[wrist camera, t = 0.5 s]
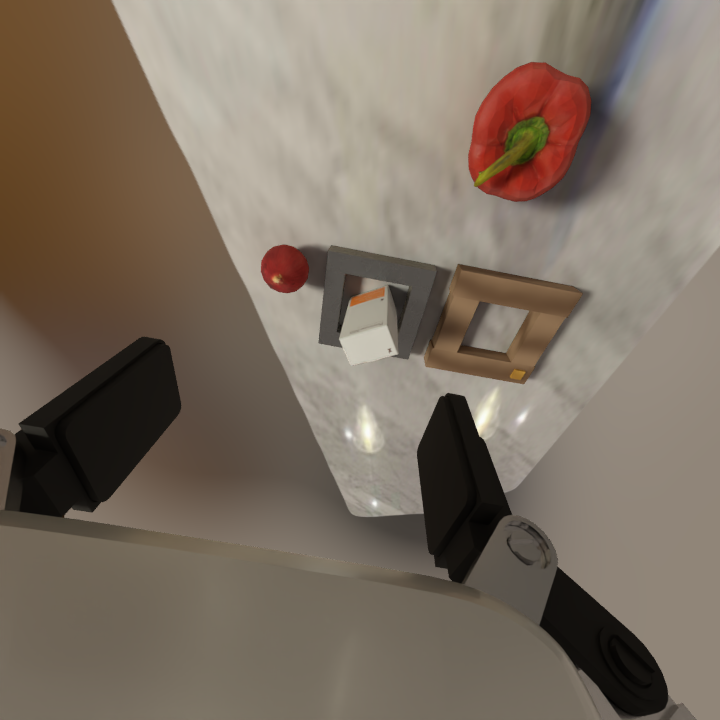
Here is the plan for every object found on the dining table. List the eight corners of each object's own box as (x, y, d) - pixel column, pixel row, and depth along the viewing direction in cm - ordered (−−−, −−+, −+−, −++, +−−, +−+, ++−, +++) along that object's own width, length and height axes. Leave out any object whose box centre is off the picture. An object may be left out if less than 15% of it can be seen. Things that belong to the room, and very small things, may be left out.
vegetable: (471, 216, 36) (496, 236, 28) (433, 127, 32) (450, 121, 24) (569, 156, 32) (631, 159, 24) (542, 43, 28) (607, 0, 19)
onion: (290, 288, 43) (274, 313, 37) (262, 254, 41) (239, 274, 34) (322, 266, 41) (310, 289, 35) (294, 229, 38) (276, 245, 32)
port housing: (458, 263, 40) (462, 271, 37) (572, 286, 40) (584, 295, 38) (424, 357, 49) (426, 368, 46) (518, 374, 49) (524, 385, 47)
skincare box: (388, 283, 42) (389, 324, 32) (397, 309, 44) (400, 355, 34) (348, 296, 43) (337, 339, 34) (358, 321, 46) (351, 368, 36)
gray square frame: (331, 245, 39) (328, 250, 37) (434, 265, 40) (436, 271, 38) (321, 334, 47) (318, 343, 45) (407, 350, 48) (408, 359, 46)
